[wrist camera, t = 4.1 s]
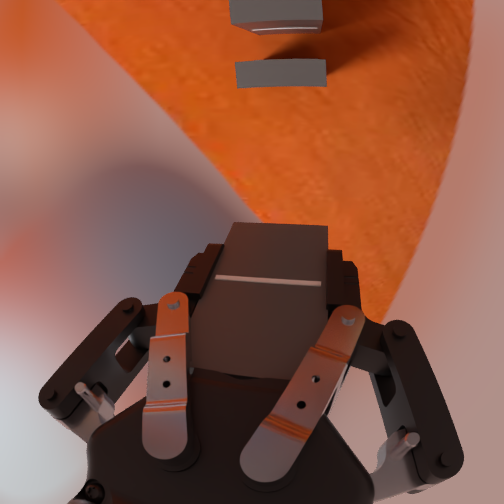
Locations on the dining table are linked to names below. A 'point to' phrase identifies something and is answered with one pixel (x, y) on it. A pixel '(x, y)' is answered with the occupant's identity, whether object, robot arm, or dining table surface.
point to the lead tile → (262, 301)
